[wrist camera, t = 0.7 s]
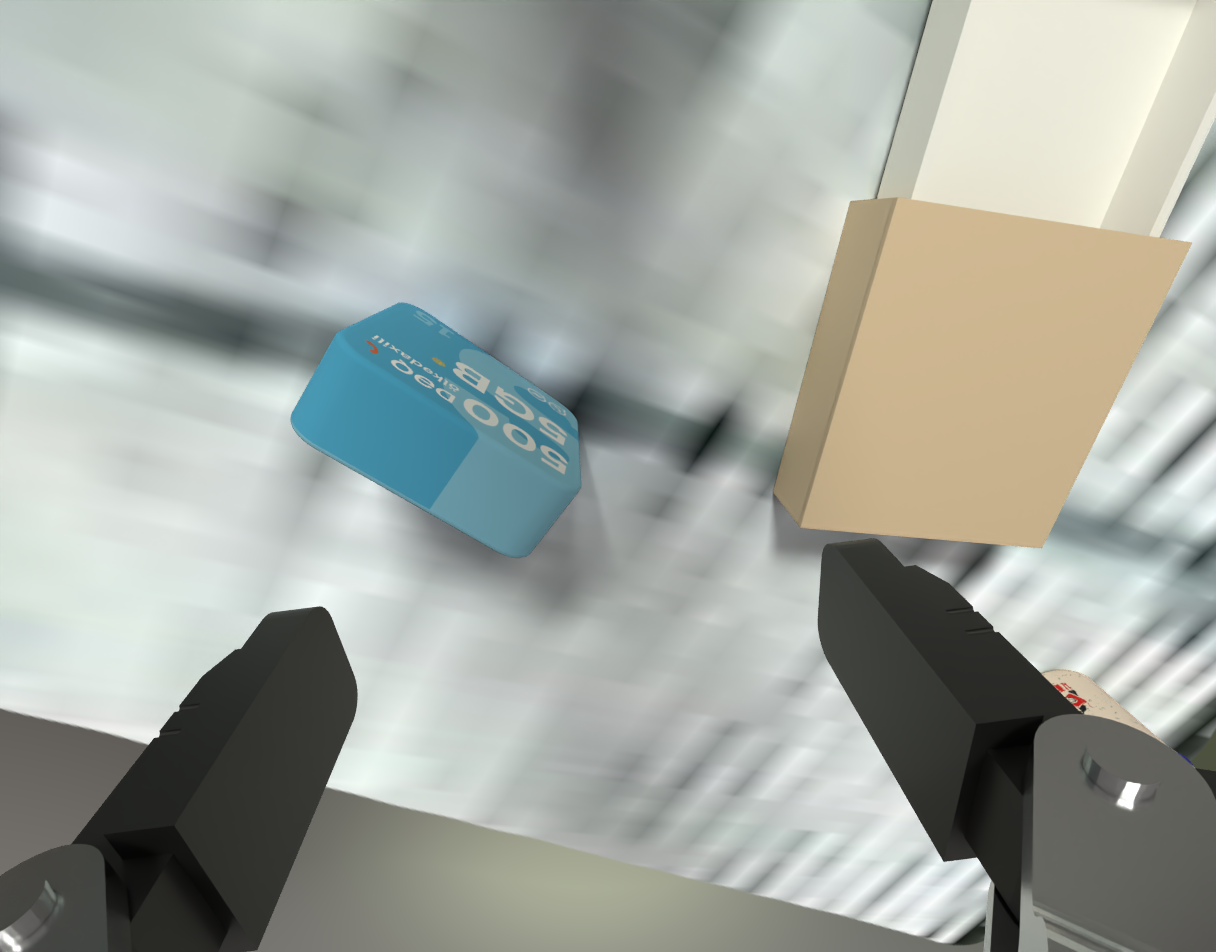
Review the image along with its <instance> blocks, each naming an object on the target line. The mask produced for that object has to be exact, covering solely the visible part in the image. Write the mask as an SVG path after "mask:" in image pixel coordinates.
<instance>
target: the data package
mask: <svg viewBox="0 0 1216 952" xmlns="http://www.w3.org/2000/svg"><path fill="white" fill-rule="evenodd" d="M291 424H292V427H293V429H294V431H295V432H296V433H297V435H298V436H299V437H300V438H301V439H302V440H303V441H305V442H306V443H307V444H309V445H310V446H312V447H313V448H315V449H317V450H318V451H320V452H322V453H324V454H325V455H327V456H329V457H331V458H332V459H334V460H336V461H338V462H339V463H341V464H343V465H345V466H347V467H348V468H350V469H352V470H354V471H355V472H357V473H359V474H361V475H362V476H364V477H366V478H368V479H370V480H371V481H373V482H375V483H377V484H378V485H380V486H382V487H384V488H385V489H387V490H389V491H391V492H392V493H394V494H396V495H398V496H400V497H401V498H403V499H405V500H407V501H408V502H410V503H412V504H414V505H415V506H417V507H419V508H421V509H422V510H424V511H426V512H428V513H430V514H431V515H433V516H435V517H437V518H438V519H440V520H442V521H444V522H445V523H447V524H449V525H451V526H452V527H454V528H456V529H458V530H460V531H461V532H463V533H465V534H467V535H468V536H470V537H472V538H474V539H475V540H477V541H479V542H481V543H482V544H484V545H486V546H488V547H490V548H491V549H493V550H495V551H497V552H499V553H501V554H503V555H505V556H508V557H513V558H522V557H526V556H527V555H529V554H530V553H531V552H532V551H533V549H534V548H535V547H536V545H537V544H538V543H539V542H540V540H541V539H542V538H543V537H544V535H545V534H546V533H547V531H548V530H549V529H550V528H551V526H552V525H553V524H554V522H555V521H556V520H557V519H558V517H559V516H560V515H561V513H562V512H563V511H564V510H565V508H566V507H567V506H568V504H569V503H570V502H571V501H572V499H573V498H574V497H575V496H576V494H577V493H578V492H579V490H580V488H581V471H580V453H579V435H578V422H577V420H576V418H575V417H574V415H573V414H572V413H571V412H570V411H569V410H568V409H567V408H566V407H565V406H563V405H562V404H561V403H559V402H558V401H557V400H555V399H554V398H552V397H551V396H549V395H548V394H546V393H545V392H543V391H542V390H540V389H539V388H537V387H536V386H535V385H533V384H532V383H530V382H529V381H527V380H526V379H524V378H523V377H521V376H520V375H518V374H517V373H515V372H514V371H512V370H511V369H509V368H508V367H507V366H505V365H504V364H502V363H501V362H499V361H498V360H496V359H495V358H493V357H492V356H490V355H489V354H487V353H486V352H484V351H483V350H482V349H480V348H479V347H477V346H476V345H474V344H473V343H471V342H470V341H468V340H467V339H465V338H464V337H462V336H461V335H459V334H458V333H456V332H455V331H454V330H452V329H451V328H449V327H448V326H446V325H445V324H443V323H442V322H440V321H439V320H437V319H436V318H434V317H433V316H431V315H430V314H428V313H427V312H425V311H423V310H422V309H420V308H418V307H415V306H413V305H411V304H407V303H397V304H395V305H393V306H391V307H389V308H387V309H385V310H383V311H381V312H379V313H376V314H374V315H372V316H370V317H368V318H366V319H364V320H362V321H360V322H358V323H356V324H353V325H351V326H349V327H347V328H345V329H343V330H341V331H339V332H338V333H337V334H336V335H335V337H334V339H333V340H332V342H331V344H330V346H329V348H328V349H327V351H326V353H325V355H324V357H323V358H322V360H321V362H320V364H319V366H318V367H317V369H316V371H315V373H314V374H313V376H312V378H311V380H310V382H309V383H308V385H307V387H306V389H305V391H304V392H303V394H302V396H301V398H300V400H299V401H298V403H297V405H296V407H295V409H294V410H293V412H292V414H291Z"/></svg>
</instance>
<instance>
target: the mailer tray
mask: <svg viewBox="0 0 1216 952" xmlns="http://www.w3.org/2000/svg"><path fill="white" fill-rule="evenodd" d="M1215 117H1216V0H933V1H932V5H931V8H930V12H929V15H928V19H927V23H926V26H925V30H924V33H923V37H922V40H921V44H920V47H919V51H918V54H917V58H916V62H915V65H914V69H913V72H912V76H911V79H910V83H909V86H908V90H907V93H906V97H905V100H904V104H903V108H902V111H901V115H900V118H899V122H898V125H897V129H896V132H895V136H894V139H893V143H892V146H891V150H890V154H889V157H888V161H887V164H886V168H885V171H884V175H883V178H882V182H881V185H880V189H879V193H878V196H877V199H882V198H895V197H900V198H906V199H912V200H919V201H925V202H932V203H938V204H945V205H951V206H958V207H964V208H971V209H977V210H984V211H990V212H997V213H1003V214H1009V215H1016V216H1022V217H1029V218H1035V219H1042V220H1048V221H1055V222H1061V223H1068V224H1074V225H1081V226H1087V227H1093V228H1100V229H1106V230H1113V231H1119V232H1126V233H1132V234H1139V235H1145V236H1152V237H1158V238H1159V237H1160V235H1161V233H1162V230H1163V228H1164V226H1165V224H1166V222H1167V220H1168V218H1169V216H1170V213H1171V211H1172V209H1173V207H1174V205H1175V203H1176V201H1177V198H1178V196H1179V194H1180V192H1181V190H1182V188H1183V186H1184V184H1185V181H1186V179H1187V177H1188V175H1189V173H1190V171H1191V169H1192V166H1193V164H1194V162H1195V160H1196V158H1197V156H1198V154H1199V152H1200V149H1201V147H1202V145H1203V143H1204V141H1205V139H1206V137H1207V135H1208V132H1209V130H1210V128H1211V126H1212V124H1213V122H1214V120H1215Z"/></svg>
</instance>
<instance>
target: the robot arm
mask: <svg viewBox="0 0 1216 952" xmlns="http://www.w3.org/2000/svg"><path fill="white" fill-rule="evenodd" d="M818 631H819V637H820V641H821V645H822V648H823V651H824V654H825V656H826V658H827V660H828V662H829V664H830V666H831V667H832V669H833V671H834V673H835V674H836V676H837V678H838V680H839V681H840V683H841V685H842V686H843V688H844V690H845V692H846V693H847V695H848V697H849V699H850V700H851V702H852V704H853V705H854V707H855V709H856V711H857V712H858V714H859V716H860V718H861V719H862V721H863V723H864V725H865V726H866V728H867V730H868V731H869V733H870V735H871V737H872V738H873V740H874V742H875V744H876V745H877V747H878V749H879V751H880V752H881V754H882V756H883V757H884V759H885V761H886V763H887V764H888V766H889V768H890V770H891V771H892V773H893V775H894V777H895V778H896V780H897V782H898V783H899V785H900V787H901V789H902V790H903V792H904V794H905V796H906V797H907V799H908V801H909V803H910V804H911V806H912V808H913V809H914V811H915V813H916V815H917V816H918V818H919V820H920V822H921V823H922V825H923V827H924V829H925V830H926V832H927V834H928V835H929V837H930V839H931V841H932V842H933V844H934V846H935V848H936V849H937V851H938V853H939V854H940V856H941V858H942V860H943V861H944V862H946V861H954V860H961V859H969V858H976V857H977V858H978V859H979V861H980V862H981V864H982V866H983V867H984V869H985V870H986V872H987V873H988V875H989V877H990V878H991V883H990V887H989V892H988V900H987V914H986V928H985V942H984V952H1216V771H1210V770H1203V769H1197V768H1194V767H1193V766H1192V765H1191V764H1190V763H1189V762H1188V761H1186V760H1185V759H1184V758H1183V757H1182V756H1181V755H1179V754H1178V753H1177V752H1175V751H1174V750H1173V749H1171V748H1170V747H1168V746H1167V745H1165V744H1164V743H1162V742H1160V741H1159V740H1157V739H1156V738H1154V737H1152V736H1150V735H1148V734H1146V733H1144V732H1142V731H1140V730H1138V729H1135V728H1133V727H1131V726H1129V725H1126V724H1123V723H1120V722H1117V721H1114V720H1111V719H1107V718H1103V717H1099V716H1092V715H1085V714H1082V713H1081V712H1080V711H1079V710H1078V709H1077V708H1076V707H1075V706H1074V705H1073V704H1072V703H1071V702H1070V701H1069V700H1068V699H1067V698H1066V697H1064V696H1063V695H1062V694H1061V693H1060V692H1059V691H1058V690H1057V689H1056V688H1055V687H1054V686H1053V685H1052V684H1051V683H1050V682H1049V681H1048V680H1047V679H1046V678H1045V677H1044V676H1043V675H1042V674H1041V673H1040V672H1039V671H1038V670H1037V669H1036V668H1035V667H1034V666H1033V665H1032V664H1031V663H1030V662H1029V661H1028V660H1027V659H1026V658H1025V657H1024V656H1023V655H1022V654H1021V653H1020V652H1019V651H1018V650H1017V649H1015V648H1014V647H1013V646H1012V645H1011V644H1010V643H1009V642H1008V641H1007V640H1006V639H1005V638H1004V637H1003V636H1002V635H1001V634H1000V633H999V632H994V630H993V626H992V625H991V624H990V623H989V622H988V621H987V620H986V619H985V618H984V617H983V616H982V615H981V614H980V613H979V612H974V610H973V606H972V605H971V604H970V603H969V602H968V601H966V600H965V599H964V598H963V597H962V596H961V595H960V594H959V593H958V592H957V591H956V590H955V589H954V588H953V587H952V586H951V585H950V584H949V583H947V582H946V581H944V580H942V579H940V578H938V577H936V576H935V575H933V574H931V573H929V572H927V571H925V570H923V569H922V568H920V567H918V566H916V565H914V566H906V567H904V566H903V565H902V564H901V563H900V562H899V561H898V559H897V558H896V557H895V556H894V555H893V554H892V553H891V552H890V551H889V550H888V549H887V548H886V547H885V546H884V545H883V544H882V543H881V542H880V541H879V540H877V539H874V538H873V539H865V540H857V541H849V542H841V543H833V544H827V545H826V546H825V547H824V549H823V553H822V561H821V577H820V592H819V608H818ZM179 707H180V710H179V711H178V712H174V713H173V715H172V716H171V717H170V718H169V720H168V721H167V722H166V724H165V725H164V726H163V727H162V729H161V730H160V731H159V732H160V736H159V737H158V738H154V739H153V740H152V741H151V743H150V744H149V745H148V747H147V748H146V749H145V750H144V752H143V753H142V754H141V756H140V757H139V758H138V759H137V761H136V762H135V764H134V765H133V766H132V767H131V768H130V770H129V771H128V772H127V774H126V775H125V776H124V777H123V779H122V780H121V781H120V783H119V784H118V785H117V786H116V788H115V789H114V790H113V791H112V793H111V794H110V795H109V797H108V798H107V799H106V800H105V802H104V803H103V804H102V806H101V807H100V808H99V810H98V811H97V812H96V813H95V814H94V816H93V817H92V818H91V820H90V821H89V822H88V824H87V825H86V826H85V827H84V829H83V830H82V831H81V832H80V834H79V835H78V836H77V838H76V839H75V840H74V841H73V843H72V844H71V845H65V846H61V847H57V848H54V849H51V850H48V851H46V852H43V853H41V854H38V855H36V856H34V857H32V858H30V859H28V860H26V861H24V862H22V863H20V864H18V865H17V866H15V867H14V868H12V869H10V870H8V871H7V872H5V873H4V874H2V875H1V876H0V952H247V951H254V950H257V949H258V947H259V945H260V942H261V940H262V937H263V935H264V933H265V930H266V928H267V925H268V923H269V921H270V918H271V916H272V914H273V911H274V909H275V906H276V904H277V902H278V899H279V897H280V894H281V892H282V889H283V887H284V885H285V882H286V880H287V878H288V875H289V873H290V870H291V868H292V866H293V863H294V861H295V859H296V856H297V854H298V851H299V849H300V846H301V844H302V842H303V839H304V837H305V834H306V832H307V830H308V827H309V825H310V823H311V820H312V818H313V815H314V813H315V810H316V808H317V806H318V804H319V801H320V799H321V796H322V794H323V791H324V789H325V787H326V784H327V782H328V780H329V777H330V775H331V772H332V770H333V768H334V765H335V763H336V760H337V758H338V756H339V753H340V751H341V749H342V746H343V744H344V741H345V739H346V737H347V734H348V732H349V729H350V727H351V725H352V722H353V720H354V717H355V713H356V708H357V684H356V680H355V676H354V674H353V671H352V669H351V666H350V664H349V661H348V658H347V656H346V653H345V651H344V648H343V646H342V643H341V640H340V638H339V635H338V633H337V630H336V628H335V625H334V622H333V620H332V618H331V615H330V614H329V612H328V611H327V610H326V609H325V608H323V607H312V608H304V609H296V610H288V611H280V612H272V613H270V614H268V615H267V616H265V618H264V619H263V620H262V621H261V623H260V624H259V625H258V627H257V628H256V629H255V631H254V632H253V633H252V635H251V636H250V637H249V639H248V640H247V641H246V643H245V644H244V645H243V647H242V648H241V649H237V650H234V651H233V652H232V653H231V654H229V655H228V656H227V657H226V658H224V659H223V660H222V661H221V662H219V663H218V664H217V665H216V666H214V667H213V668H212V669H211V670H210V671H208V672H207V673H206V674H205V675H203V676H202V677H201V679H200V680H199V681H198V683H197V684H196V685H195V686H194V688H193V689H192V690H191V692H190V693H189V694H188V695H187V697H186V698H185V699H184V700H183V702H182V703H181V704H180V706H179Z"/></svg>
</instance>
